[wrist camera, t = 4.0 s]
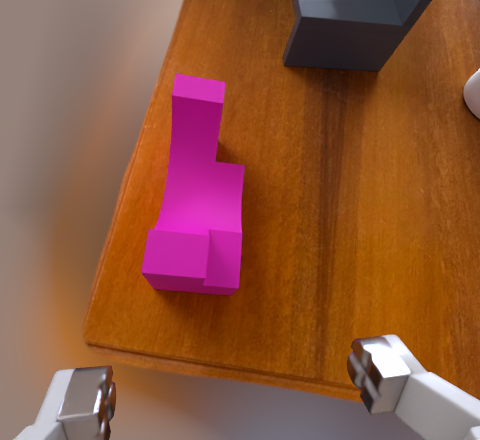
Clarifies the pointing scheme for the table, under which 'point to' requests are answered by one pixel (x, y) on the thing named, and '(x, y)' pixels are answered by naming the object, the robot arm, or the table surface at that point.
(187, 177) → the toy block
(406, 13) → the shelf
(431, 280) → the table surface
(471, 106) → the milk bottle
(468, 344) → the table surface
